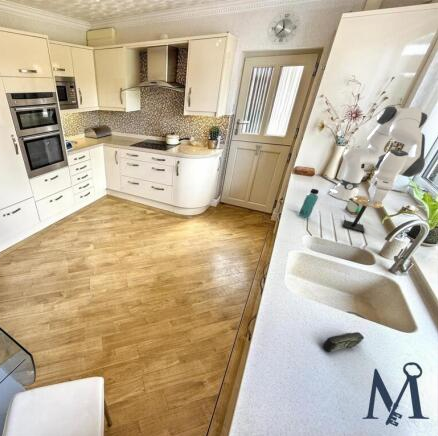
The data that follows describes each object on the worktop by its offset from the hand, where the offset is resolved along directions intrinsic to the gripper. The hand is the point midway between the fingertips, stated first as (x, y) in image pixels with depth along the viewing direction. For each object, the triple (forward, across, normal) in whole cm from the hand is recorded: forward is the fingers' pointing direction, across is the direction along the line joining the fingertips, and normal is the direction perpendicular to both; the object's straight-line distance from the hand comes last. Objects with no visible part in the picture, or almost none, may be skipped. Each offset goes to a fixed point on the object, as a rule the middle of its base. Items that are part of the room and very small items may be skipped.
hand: (369, 204), depth 133 cm
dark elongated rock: (+19, +95, -8) cm, 97 cm away
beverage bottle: (+19, 0, -27) cm, 33 cm away
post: (+18, -6, 0) cm, 19 cm away
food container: (+19, -28, +1) cm, 34 cm away
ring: (+1, -6, 0) cm, 6 cm away
